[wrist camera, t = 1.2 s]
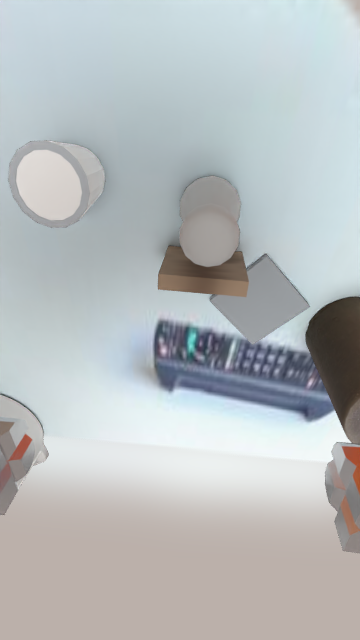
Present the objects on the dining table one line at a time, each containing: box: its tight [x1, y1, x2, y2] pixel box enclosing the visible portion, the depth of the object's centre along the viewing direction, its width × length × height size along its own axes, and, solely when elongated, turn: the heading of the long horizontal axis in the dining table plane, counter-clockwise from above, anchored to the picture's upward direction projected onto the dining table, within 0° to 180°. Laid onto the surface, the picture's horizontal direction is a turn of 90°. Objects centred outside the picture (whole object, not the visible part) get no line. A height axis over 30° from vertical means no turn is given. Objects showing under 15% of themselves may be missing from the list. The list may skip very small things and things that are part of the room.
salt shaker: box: [179, 176, 241, 267], centre depth 28 cm, size 6×6×13 cm
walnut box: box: [158, 246, 249, 297], centre depth 33 cm, size 8×2×8 cm, turn 87°
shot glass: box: [8, 140, 105, 228], centre depth 31 cm, size 7×7×7 cm
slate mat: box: [210, 254, 310, 345], centre depth 39 cm, size 8×8×1 cm
